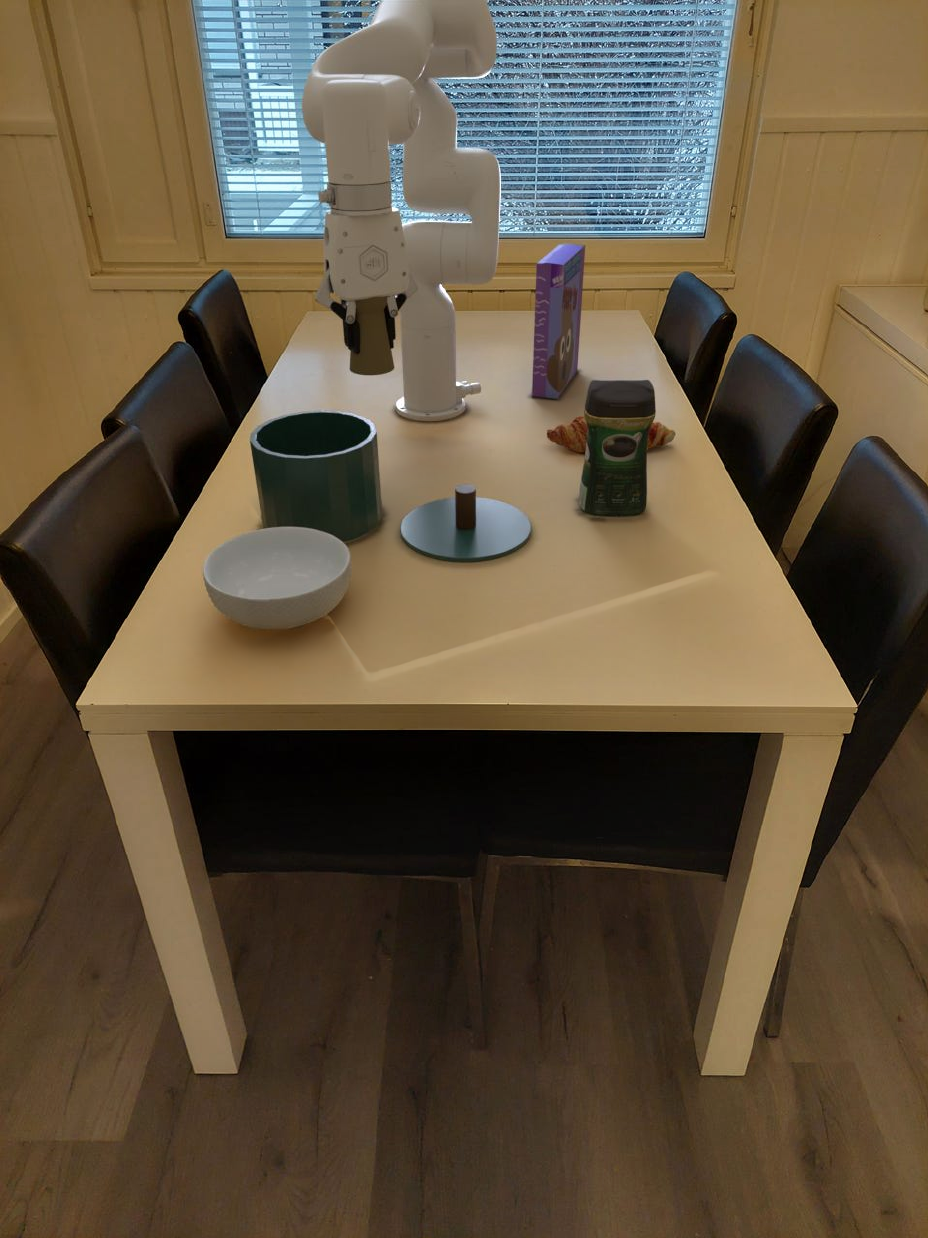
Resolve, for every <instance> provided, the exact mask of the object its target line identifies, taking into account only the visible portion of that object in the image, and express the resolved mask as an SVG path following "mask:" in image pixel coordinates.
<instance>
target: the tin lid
mask: <svg viewBox="0 0 928 1238" xmlns="http://www.w3.org/2000/svg"><path fill="white" fill-rule="evenodd" d="M531 531H532V524H531V521H530V519H529V517H528V516H527V515H526V514H525V513H524V512H523V511H522V510H520V509H519V508H517V507H515V506H513V504H509V503H506V502H503V501H500V500H496V499H493V498H487V497H479V496H478V497H477V488H476V487H475V486H474V485H471V484H460V485H459V484H458V485H457V486H456V487H455V488H454V497H447V498H441V499H436V500H433V501H429V502H426V503H424V504H422V505H419V506H417V507H415V508H414V509H412V510H411V511H409V512H408V513H407V514H406V515H405V516H404V518H403V519H402V521H401V524H400V535H401V538H402V540H403V541H404V543H405V544H406V545H407V546H408V547H409V548H410V549H411V550H413V551H415V552H417V553H418V554H421V555H423V556H426V557H428V558H432V559H436V560H441V561H447V562H453V563H454V562H457V563H474V562H475V563H476V562H483V561H490V560H494V559H495V560H496V559H499V558H502V557H505V556H507V555H510V554H512V553H514V552H517V550H519V549H520V548H522V547H523V546H524V545H526V544H527V542H528V540H529V539H530V536H531V535H532V534H531V533H532V532H531Z"/></svg>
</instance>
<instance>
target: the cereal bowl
mask: <svg viewBox="0 0 928 1238" xmlns="http://www.w3.org/2000/svg"><path fill="white" fill-rule="evenodd" d="M351 573H352V557H351V552H350V550H349V548H348V546H347V545H346V544H345V543H344V542H342V541H341V540H339V539H338V538H336V537H335V536H333V535H331V534H328V533H325V532H322V531H319V530H315V529H310V528H302V527H274V528H265V529H264V528H260V529H255V530H251V531H248V532H244V533H241V534H238V535H236V536H234V537H231V538H230V539H228V540H225V541H223V542H222V543H220V544H219V545H217V547H215V548H214V549H213V550H212V551H211V552H210V553H209V554H208V555H207V556H206V558H205V560H204V562H203V566H202V576H203V577H202V578H203V582H204V586H205V591H206V593H207V595H208V597H209V599H210V602H211V603H212V604H213V606H214V607H215V608H216V609H217V610H218V611H219V612H220V613H221V614H222V615H224V616H225V617H226V618H228V619H230V620H231V621H233V622H235V623H236V624H240V625H243V626H245V627H250V628H253V629H259V630H283V629H291V628H297V627H301V626H304V625H308V624H310V623H313V622H314V621H318V620H319V619H321V618H323V617H325V616H326V615H328V614H329V613H331V612H332V611H334V609H335V608H336V607H337V606H338V605H339V604H340V603H341V601H342V600H343V598H344V596H346V593H347V591H348V588H349V586H350V583H351V575H352V574H351Z"/></svg>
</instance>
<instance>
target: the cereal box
mask: <svg viewBox="0 0 928 1238" xmlns="http://www.w3.org/2000/svg"><path fill="white" fill-rule="evenodd" d="M585 255H586V244H580V243H573V242H570V243H559V244H558V245H556V247H555V248H553V249H552V250H551V251H549V252H548V253H547V254H546V255H545V256H544V257H543V258H542V259H540V260H539V261H537V263H536V268H535V269H536V270H535V295H534V296H535V298H534V303H535V305H534V326H533V327H534V328H533V355H532V357H533V358H532V380H531V381H532V384H531V385H532V386H531V398H535V399H537V398H538V399H546V400H555V401H557V400H558V399H559V397H560V396H561V395H562V394H563V392H564V391H565V389H566V388H567V386H568V385H569V383H570V382H571V381H572V380H573V378H574V376H575V375H576V374H577V372H578V368H579V367H578V366H579V353H580V352H579V351H580V350H579V349H580V335H581V321H582V319H581V318H582V305H583V304H582V303H583V289H584V275H585V257H586V256H585Z"/></svg>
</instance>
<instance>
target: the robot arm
mask: <svg viewBox="0 0 928 1238" xmlns="http://www.w3.org/2000/svg"><path fill="white" fill-rule="evenodd" d="M497 53H498V37H497V31H496V26H495V23H494V20H493V17H492V13H491V10H490V8H489V5H488V2H487V0H380V1H379V3H378V5H377V7H376V10H375V12H374V15H373V17H372V19H371V21H370V23H369V25H368V26H366V27H363V28H361V29H359V30H357V31H355V32H353V33H352V34H350V35H348V36H346V37H344V38H342V39H340V40H338V41H336V42H335V43H333V44H331V45H329V46H328V47H327V48H326V49H324V50H323V51H322V52H321V53H320V54H319V55H318V57H316V59H315V61H314V63H313V65H312V67H311V69H310V71H309V73H308V76H307V78H306V81H305V84H304V88H303V91H302V99H301V110H302V111H301V113H302V119H303V123H304V126H305V128H306V131H307V132H308V133H309V135H310V136H311V137H312V138H313V139H314V140H315V141H316V142H319V143H322V144H324V146H325V158H326V159H325V160H326V168H327V169H326V171H327V181H328V182H327V183H326V188H325V189H324V190H319V191H318V194H317V195H318V201H319V203H320V204H327V205H328V207H329V208H330V210H327V211H325V219H324V230H323V273H324V276H323V278H322V280H321V282H320V284H319V286H318V288H317V290H316V292H315V294H314V301H315V302H317V303H318V304H320V305H322V306H323V307H325V308H327V309H329V310H330V311H332V312H333V313H334V314H335V315H336V316H338V318H339V319H341V320H342V330H343V342H344V346H345V347H347V349H348V350H349V351H351V350H352V351H353V353H355V354H359V353H360V327H359V323H357V322H356V318H355V313H356V305H355V300H361V299H368V298H372V297H384V296H387V305H386V307H385V308H384V313H385V318H386V326H387V333H388V339H389V344H390V349H391V350H393V349H394V348H395V345H394V344H395V343H394V341H395V340H396V338H397V333H396V332H397V331H396V318H397V317H398V316H399V321H400V322H399V323H400V324H399V325H400V342H401V343H400V344H401V346H400V347H401V364H402V365H401V366H402V385H403V388H402V389H403V396H402V397H401V398H399V399H398V400H396V402H395V411H396V413H397V414H398V415H399V416H400V417H403V418H406V419H408V420H413V421H419V422H440V421H446V420H450V419H454V418H457V417H459V416H460V415H462V414H463V413H464V412H465V410H466V401H465V399H464V398H466V397H467V396H469V395H471V396H472V395H476V394H477V395H478V394H480V393H481V392H482V386H481V383H480V382H475V383H468V381H467V380H466V381H460V382H459V381H457V328H456V319H457V318H456V317H457V315H456V308H455V306H454V303H453V301H452V299H451V297H450V296H449V294H448V293H447V291H446V289H445V288H444V287H443V285H461V286H463V285H464V286H481V285H486V284H489V283H490V282H491V281H492V280H493V279H494V277H495V275H496V273H497V268H498V267H497V266H498V258H499V240H500V219H501V198H502V175H501V168H500V163H499V161H498V158H497V156H496V155H495V154H494V153H493V152H492V151H491V150H488V149H485V148H479V147H458V146H457V139H458V137H457V136H458V114H457V112H456V109H455V107H454V105H453V104H452V102H451V100H450V98H449V96H447V94H446V93H445V92H444V90H443V89H442V88H441V86H440V85H438V83H437V82H436V81H435V79H441V80H444V79H446V80H447V79H448V80H449V79H451V80H452V79H454V80H455V79H457V80H458V79H463V80H464V79H482V78H484V77H486V76H488V75H489V74H490V73H491V72H492V70H493V68H494V66H495V63H496V59H497ZM402 144H403V148H402V155H403V156H402V193H403V200H404V201H405V204H406V206H407V207H408V208H409V209H411V210H412V211H415V212H419V213H426V214H450V215H451V214H452V215H453V214H455V215H456V214H457V215H468V216H469V217H470V218H471V221H447V220H412V221H408V222H405V223H403V222H402V217H401V216H402V215H401V212H400V209H399V208H397V207H394V206H393V197H392V195H393V193H392V181H391V180H392V176H391V155H390V153H391V152H390V146H397V145H402ZM331 294H332V295H333V294H334V296H336V297H337V298H338V299H339V302H338V301H336V300H335V299H333V298H331Z"/></svg>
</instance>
